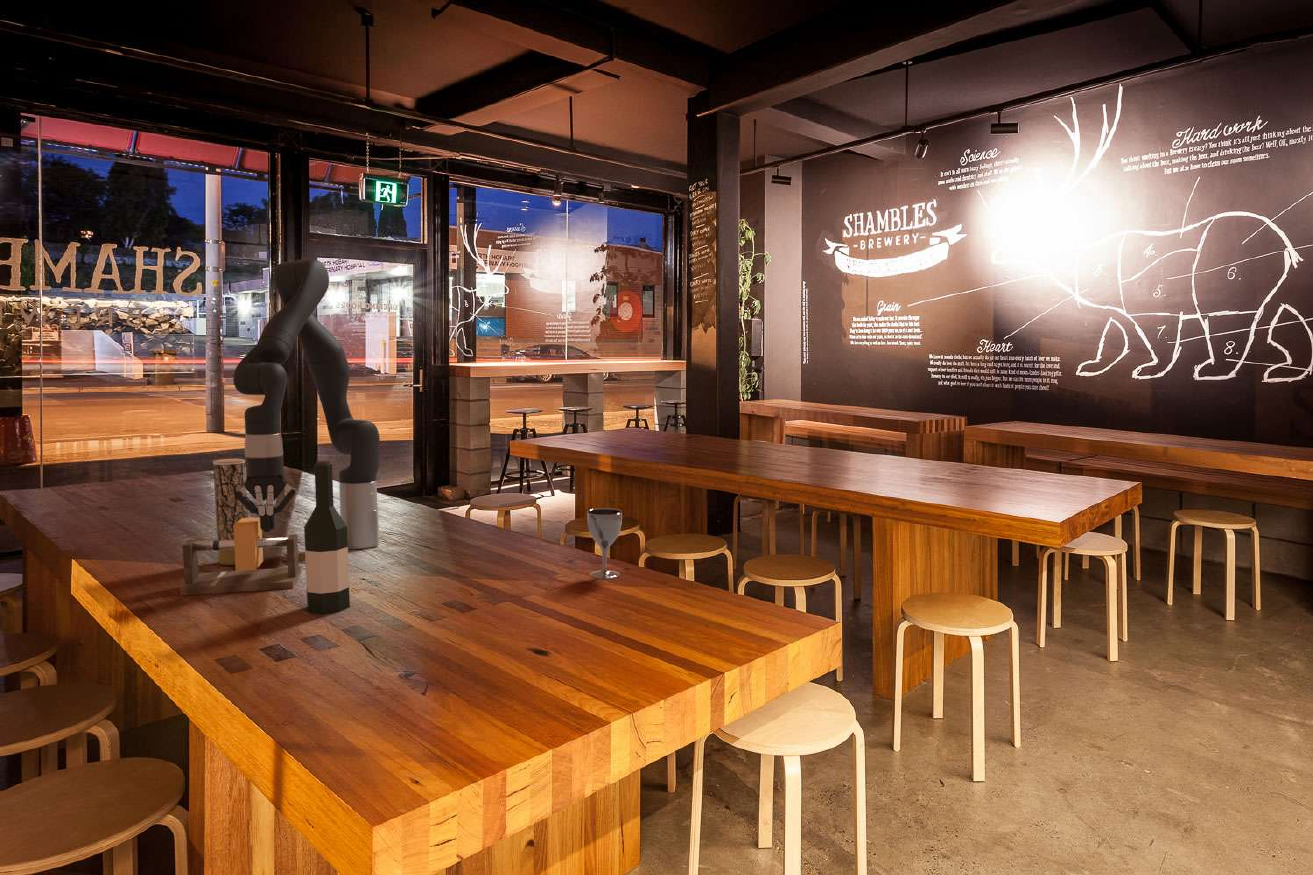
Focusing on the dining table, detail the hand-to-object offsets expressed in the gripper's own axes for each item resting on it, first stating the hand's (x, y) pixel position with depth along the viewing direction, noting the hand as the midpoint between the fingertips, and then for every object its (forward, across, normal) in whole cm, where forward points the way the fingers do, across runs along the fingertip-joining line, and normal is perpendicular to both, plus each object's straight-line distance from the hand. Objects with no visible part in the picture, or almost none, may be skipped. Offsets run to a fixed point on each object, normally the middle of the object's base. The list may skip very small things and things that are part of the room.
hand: (267, 531), depth 182 cm
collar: (+8, +4, 0) cm, 9 cm away
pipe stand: (+12, +5, 0) cm, 13 cm away
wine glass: (+12, -74, +12) cm, 75 cm away
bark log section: (+12, +11, -20) cm, 26 cm away
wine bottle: (+12, -14, +22) cm, 29 cm away
